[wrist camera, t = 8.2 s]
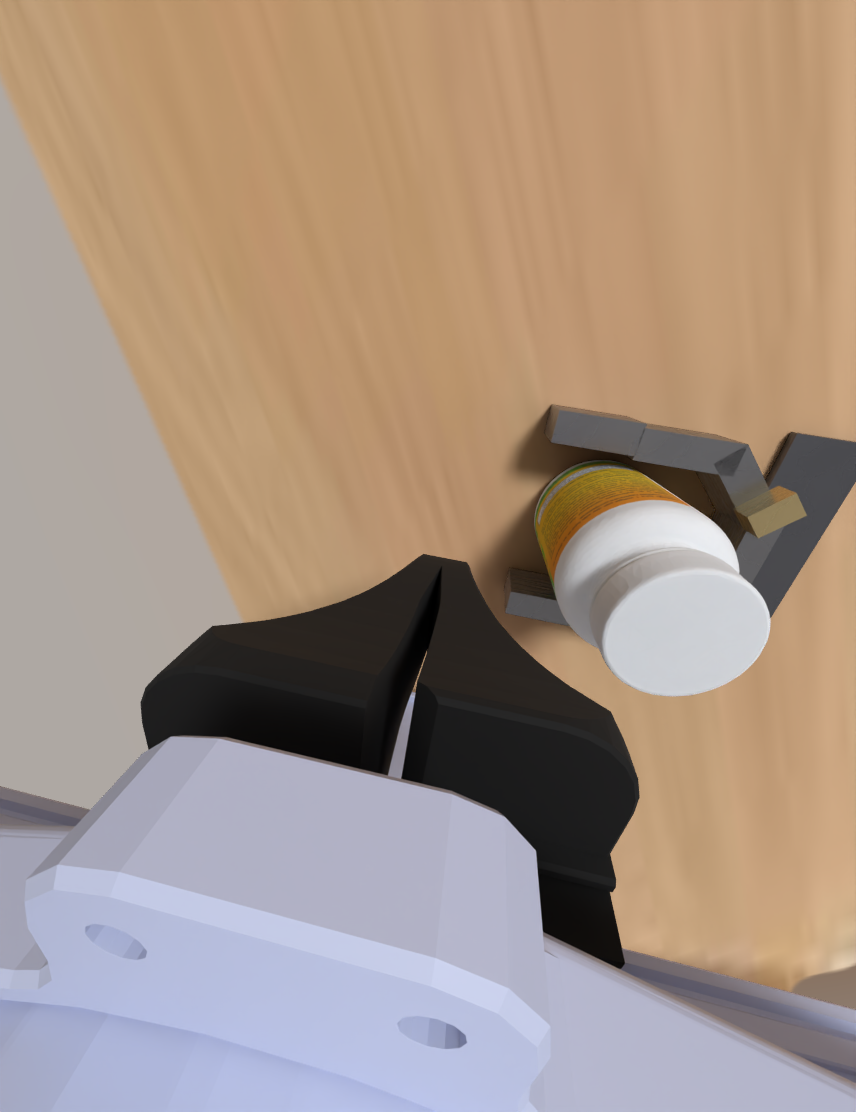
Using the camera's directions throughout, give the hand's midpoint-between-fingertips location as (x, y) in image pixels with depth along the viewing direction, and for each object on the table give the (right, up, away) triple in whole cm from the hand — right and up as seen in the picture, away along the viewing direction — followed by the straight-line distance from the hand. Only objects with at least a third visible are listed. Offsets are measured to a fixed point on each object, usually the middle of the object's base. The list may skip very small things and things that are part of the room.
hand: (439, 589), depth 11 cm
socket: (+11, +2, +8) cm, 13 cm away
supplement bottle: (+7, +3, +8) cm, 11 cm away
